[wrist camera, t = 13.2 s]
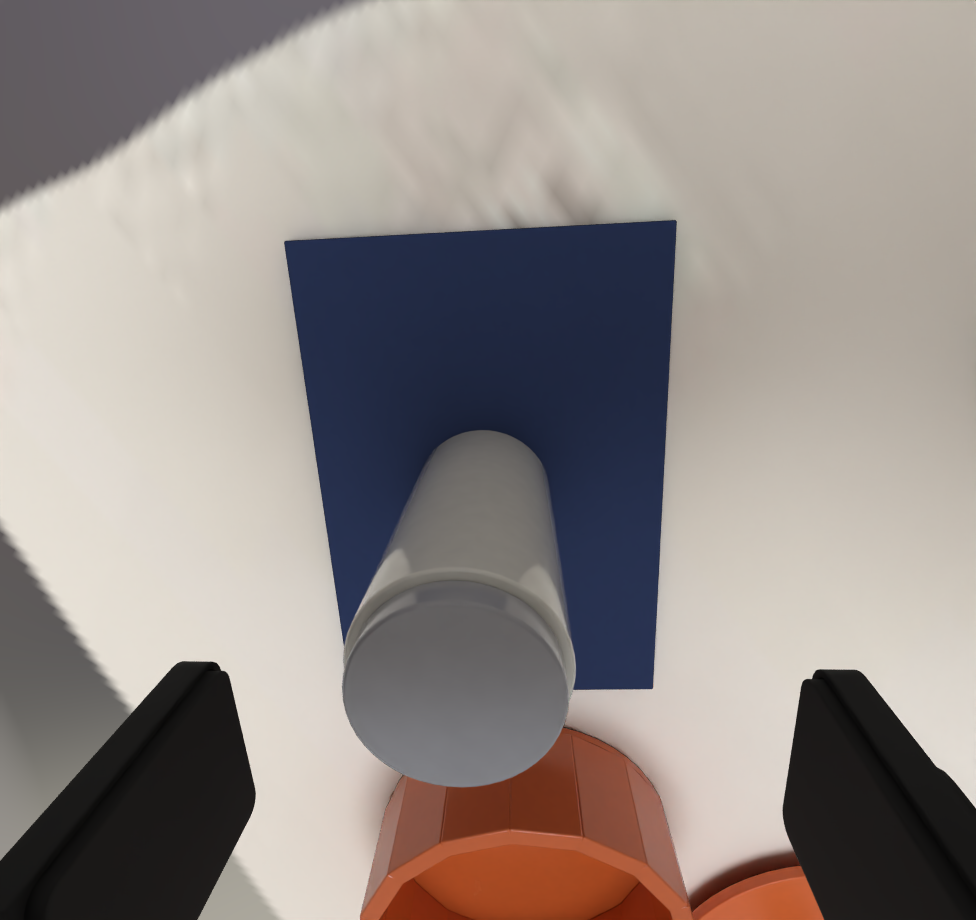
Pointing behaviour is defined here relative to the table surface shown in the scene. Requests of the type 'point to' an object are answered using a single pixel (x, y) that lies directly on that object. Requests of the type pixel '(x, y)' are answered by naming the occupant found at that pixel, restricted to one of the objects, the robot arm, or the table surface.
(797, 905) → the pot lid
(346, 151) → the table surface
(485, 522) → the salt shaker
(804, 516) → the table surface
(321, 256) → the towel
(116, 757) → the robot arm
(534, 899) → the pot
